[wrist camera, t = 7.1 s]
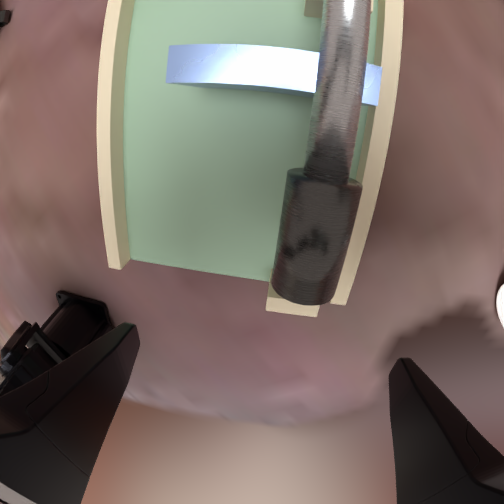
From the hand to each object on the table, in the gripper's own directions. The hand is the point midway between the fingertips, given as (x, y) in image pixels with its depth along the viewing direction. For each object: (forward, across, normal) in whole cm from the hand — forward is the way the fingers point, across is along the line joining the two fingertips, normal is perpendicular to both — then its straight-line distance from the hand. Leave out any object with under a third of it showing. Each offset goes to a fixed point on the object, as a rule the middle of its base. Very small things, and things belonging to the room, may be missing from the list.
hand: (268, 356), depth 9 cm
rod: (+9, +1, -12) cm, 15 cm away
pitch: (+12, +3, -10) cm, 16 cm away
